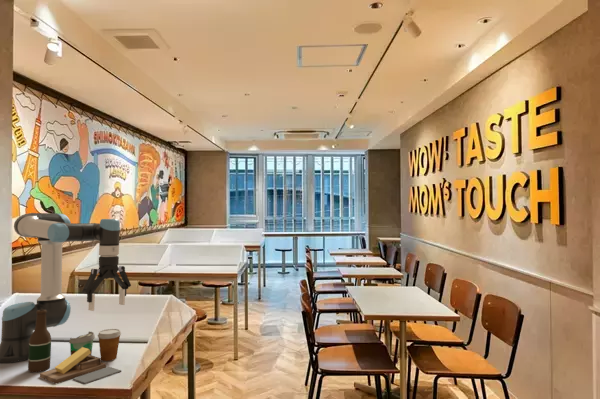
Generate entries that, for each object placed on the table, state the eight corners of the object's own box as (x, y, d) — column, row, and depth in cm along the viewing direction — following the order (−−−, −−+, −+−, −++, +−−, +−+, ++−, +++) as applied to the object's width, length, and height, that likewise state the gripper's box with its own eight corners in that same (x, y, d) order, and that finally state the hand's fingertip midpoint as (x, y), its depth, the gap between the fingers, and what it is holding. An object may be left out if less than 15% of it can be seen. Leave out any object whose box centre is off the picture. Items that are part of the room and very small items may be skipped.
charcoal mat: (73, 379, 154) (73, 378, 154) (109, 367, 166) (109, 366, 166) (84, 384, 149) (84, 382, 149) (121, 371, 162) (121, 370, 162)
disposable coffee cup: (104, 364, 171) (105, 335, 171) (92, 359, 176) (93, 332, 176) (125, 357, 179) (125, 330, 180) (112, 353, 184) (113, 327, 185)
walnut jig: (39, 377, 156) (40, 366, 156) (89, 362, 173) (89, 352, 173) (56, 383, 150) (56, 372, 150) (106, 367, 167) (106, 357, 167)
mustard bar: (54, 372, 157) (55, 354, 158) (83, 363, 167) (84, 346, 168) (61, 374, 155) (62, 356, 155) (90, 365, 165) (91, 348, 165)
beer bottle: (29, 367, 166) (32, 309, 168) (51, 365, 169) (54, 307, 171) (25, 374, 159) (28, 312, 160) (48, 371, 162) (50, 311, 163)
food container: (80, 363, 172) (81, 339, 172) (68, 362, 173) (69, 338, 173) (100, 354, 184) (101, 331, 184) (88, 353, 185) (89, 331, 186)
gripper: (84, 258, 154) (82, 314, 153) (140, 254, 176) (138, 303, 174) (74, 257, 158) (71, 311, 157) (129, 253, 179) (127, 301, 178)
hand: (107, 307), depth 166 cm, fingers open, 13 cm apart
